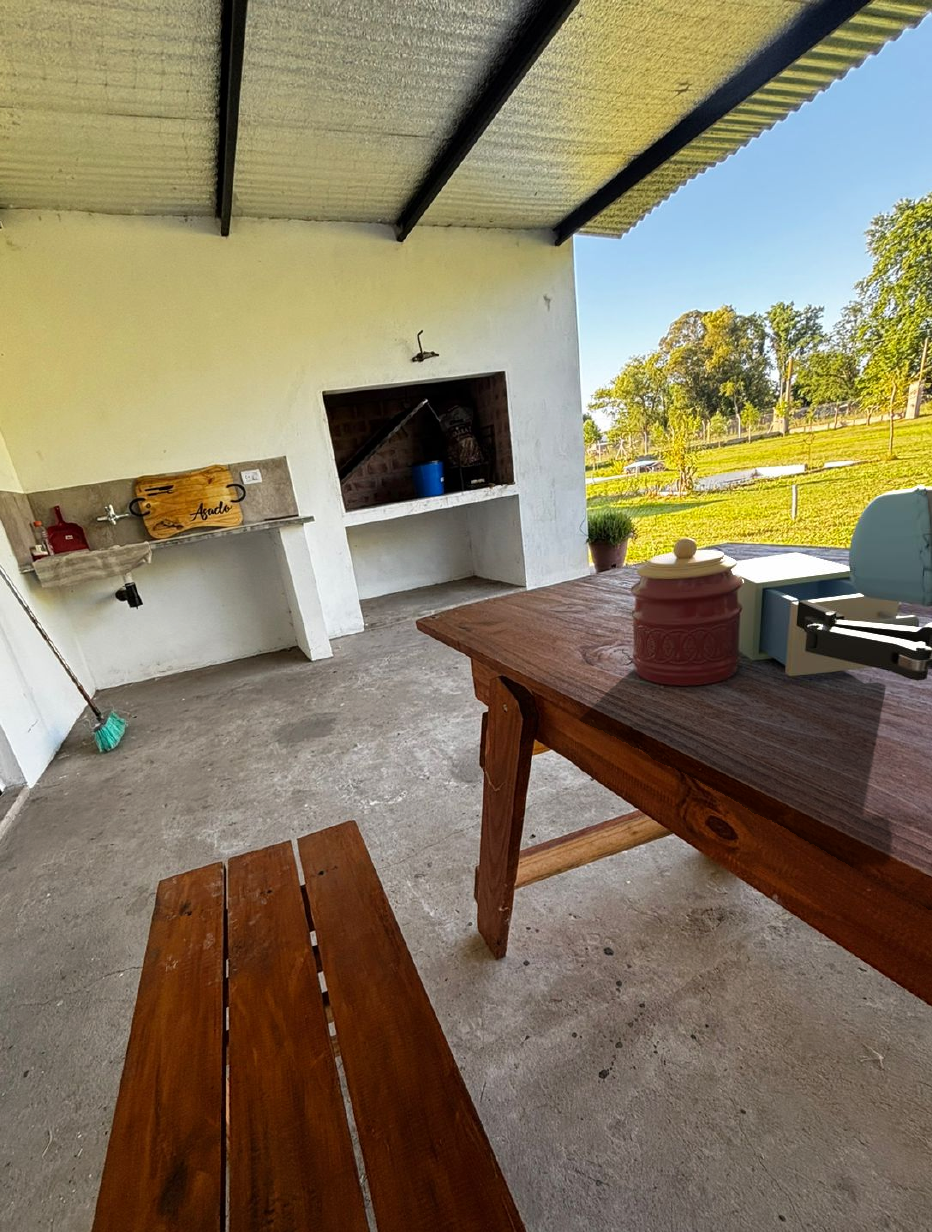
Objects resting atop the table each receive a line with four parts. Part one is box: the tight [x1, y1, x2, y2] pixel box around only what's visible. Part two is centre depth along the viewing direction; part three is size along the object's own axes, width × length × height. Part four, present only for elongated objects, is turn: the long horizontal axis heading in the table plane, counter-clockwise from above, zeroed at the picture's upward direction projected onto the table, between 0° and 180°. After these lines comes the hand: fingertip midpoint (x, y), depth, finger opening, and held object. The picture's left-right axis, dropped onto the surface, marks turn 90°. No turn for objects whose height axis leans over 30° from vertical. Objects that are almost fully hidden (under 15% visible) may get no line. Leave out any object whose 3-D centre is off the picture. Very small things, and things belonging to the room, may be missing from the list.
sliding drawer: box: [759, 578, 920, 677], centre depth 64 cm, size 18×10×9 cm, turn 172°
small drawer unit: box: [732, 552, 851, 661], centre depth 74 cm, size 15×12×11 cm
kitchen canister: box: [630, 537, 744, 687], centre depth 69 cm, size 13×13×18 cm
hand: (873, 603), depth 54 cm, fingers open, 13 cm apart
